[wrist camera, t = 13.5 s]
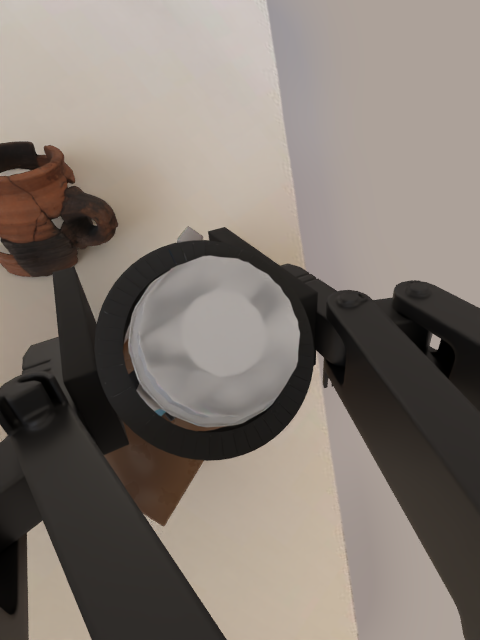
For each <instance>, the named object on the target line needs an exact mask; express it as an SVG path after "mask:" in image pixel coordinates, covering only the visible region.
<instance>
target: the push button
mask: <svg viewBox="0 0 480 640" xmlns="http://www.w3.org/2000/svg"><path fill="white" fill-rule="evenodd" d="M130 323H131V325H130ZM129 325H130V333H129V341H128V347H129V354H130V357H131V360H132V363H133V366H134V369H135V370H133V371H132V372H131V373H129V374H128V371H127V368H126V365H125V360H124V355H123V345H124V340H125V336H126V333H127V330H128V327H129ZM95 360H96V367H97V371H98V376H99V379H100V382H101V385H102V388H103V390H104V392H105V394H106V396H107V398H108V400H109V402H110V404H111V405H112V407H113V409H114V410H115V412H116V413H117V414H118V416H119V417H120V418H121V419H122V421H123V422H124V423H125V424H126V425H127V426H128V427H129V428H130V429H131V430H132V431H133V432H134V433H135V434H137V435H138V436H139V437H141V438H142V439H143V440H145V441H146V442H148V443H149V444H151V445H153V446H154V447H156V448H158V449H160V450H163V451H165V452H167V453H170V454H173V455H176V456H179V457H183V458H188V459H193V460H206V461H208V460H222V459H229V458H233V457H237V456H241V455H244V454H246V453H249V452H251V451H254V450H256V449H258V448H259V447H261V446H263V445H265V444H266V443H268V442H269V441H270V440H272V439H273V438H275V437H276V436H277V435H278V434H279V433H280V432H281V431H282V430H284V428H285V427H286V426H287V425H288V424H289V423H290V422H291V420H292V419H293V418H294V416H295V415H296V413H297V412H298V410H299V408H300V407H301V405H302V403H303V401H304V399H305V396H306V394H307V392H308V388H309V385H310V382H311V377H312V372H313V364H314V345H313V337H312V331H311V327H310V323H309V320H308V317H307V314H306V312H305V309H304V307H303V305H302V303H301V301H300V299H299V298H298V296H297V294H296V293H295V291H294V290H293V288H292V287H291V286H290V284H289V283H288V282H287V281H286V280H285V278H284V277H283V276H282V275H281V274H280V273H279V272H278V271H277V270H276V269H274V268H273V267H272V266H271V265H270V264H268V263H267V262H266V261H264V260H263V259H261V258H260V257H258V256H256V255H255V254H253V253H251V252H249V251H247V250H245V249H242V248H239V247H237V246H234V245H230V244H227V243H222V242H217V241H207V240H192V241H183V242H178V243H174V244H170V245H167V246H164V247H161V248H159V249H157V250H154V251H152V252H150V253H149V254H147V255H145V256H143V257H142V258H140V259H139V260H138V261H136V262H135V263H134V264H132V265H131V266H130V267H129V268H128V269H127V270H126V271H125V272H124V273H123V274H122V275H121V276H120V277H119V279H118V280H117V281H116V282H115V284H114V285H113V287H112V288H111V290H110V291H109V293H108V295H107V297H106V299H105V301H104V303H103V305H102V308H101V311H100V313H99V317H98V321H97V325H96V332H95ZM163 414H164V415H165V416H166V417H167V418H168V420H169V421H173V420H174V419H175V418H176V417H177V418H179V419H182V420H184V421H187V422H189V423H192V424H194V425H197V426H202V427H219V426H225V427H222V428H218V429H215V430H208V431H193V430H189V429H185V428H183V427H180V426H177V425H175V424H173V423H171V422H169V421H167V420H166V419H164V418H163V417H161V416H162V415H163Z"/></svg>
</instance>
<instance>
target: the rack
mask: <svg viewBox="0 0 480 640" xmlns="http://www.w3.org/2000/svg"><path fill="white" fill-rule="evenodd" d="M192 240H203V236H202V235H200V234H199V233H198V232H196V231H195V230H193V229H192V228H190V227H189V226H188V227H187V228H186V229H185V230H184V231H183V233H182V234H181V235H180V236H179V238H178V240H177V243H178V242H183V241H192ZM130 325H131V323H130ZM130 325H129V327H128V330H127V333H126V336H125V340H124V345H123V355H124V360H125V365H126V368H127V371H128V374H129V373H131V372H132V371H133V370H135V369H134V366H133V363H132V360H131V357H130V354H129V347H128V341H129V333H130ZM161 417H163V418H164V419H166V420H167V421H169V420H168V418H167V417H166V416H165V415H164V414H163V415H162V416H161ZM169 422H171V423H173V424H175V425H177V426H180V427H183V428H185V429H189V430H193V431H208V430H215V429H218V428H222V427H224V426H219V427H202V426H197V425H194V424H192V423H189V422H187V421H184V420H182V419H179V418H177V417H176V418H175V419H174V420H173V421H169ZM123 423H124V422H123ZM124 426H125V430H126V434H127V437H128V441H129V445H127V446H124V447H122V448H120V449H117V450H115V451H113V452H110V453H108V454H106V455H104V456H105V458H106V459H107V461H108V462H109V464H110V465H111V467H112V468H113V470H114V471H115V473H116V474H117V476H118V477H119V479H120V480H121V482H122V483H123V485H124V486H125V488H126V489H127V491H128V492H129V494H130V495H131V497H132V498H133V500H134V501H135V503H136V504H137V506H138V507H139V509H140V510H141V512H142V513H143V514H145V515H146V516H148V517H149V518H151V519H152V520H154V521H156V522H157V523H159V524H160V525H162V526H165V524H166V523H167V521H168V519H169V518H170V516H171V514H172V513H173V511H174V509H175V508H176V506H177V504H178V503H179V501H180V499H181V498H182V496H183V494H184V493H185V491H186V489H187V488H188V486H189V484H190V483H191V481H192V479H193V478H194V476H195V474H196V473H197V471H198V470H199V468H200V466H201V465H202V463H203V461H204V460H193V459H188V458H183V457H179V456H176V455H173V454H170V453H167V452H165V451H163V450H160V449H158V448H156V447H154V446H153V445H151V444H149V443H148V442H146V441H145V440H143V439H142V438H141V437H139V436H138V435H137V434H135V433H134V432H133V431H132V430H131V429H130V428H129V427H128V426H127V425H126V424H125V423H124Z"/></svg>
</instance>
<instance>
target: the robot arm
mask: <svg viewBox="0 0 480 640" xmlns="http://www.w3.org/2000/svg"><path fill="white" fill-rule="evenodd" d="M208 234H209V241H217V242H222V243H227V244H230V245H234V246H237V247H239V248H242V249H245V250H247V251H249V252H251V253H253V254H255V255H256V256H258V257H260V258H261V259H263V260H264V261H266V262H267V263H268V264H270V265H271V266H272V267H273V268H274V269H276V270H277V271H278V272H279V273H280V274H281V275H282V276H283V277H284V278H285V280H286V281H287V282H288V283H289V284H290V286H291V287H292V288H293V290H294V291H295V293H296V294H297V296H298V298H299V299H300V301H301V303H302V305H303V307H304V309H305V312H306V314H307V317H308V320H309V323H310V327H311V331H312V337H313V345H314V364H313V366H314V365H316V350H317V351H318V352H319V353H320V354H321V355H322V356H323V357H324V368H323V386H324V388H326V387H327V384H328V383H327V382H328V378H329V379H330V381H331V383H332V386H334V388H335V390H336V391H337V393H338V395H339V397H340V399H341V400H342V402H343V404H344V406H345V407H346V409H347V411H348V413H349V415H350V416H351V418H352V420H353V421H354V423H355V425H356V427H357V429H358V431H359V432H360V434H361V436H362V438H363V439H364V441H365V443H366V445H367V447H368V448H369V450H370V452H371V454H372V456H373V457H374V459H375V461H376V463H377V465H378V466H379V468H380V470H381V471H382V474H383V475H384V477H385V479H386V481H387V482H388V484H389V486H390V488H391V490H392V491H393V493H394V495H395V497H396V498H397V500H398V502H399V504H400V506H401V507H402V509H403V511H404V513H405V515H406V516H407V518H408V520H409V522H410V523H411V525H412V527H413V529H414V530H415V532H416V534H417V536H418V538H419V539H420V541H421V543H422V545H423V547H424V548H425V550H426V552H427V554H428V556H429V557H430V559H431V561H432V562H433V564H434V566H435V568H436V570H437V572H438V573H439V575H440V577H441V579H442V581H443V582H444V584H445V586H446V587H447V589H448V591H449V593H450V595H451V597H452V598H453V600H454V602H455V604H456V606H457V609H458V611H459V614H460V618H461V624H462V629H463V635H464V638H465V640H480V308H478V307H476V306H474V305H472V304H470V303H468V302H466V301H464V300H462V299H460V298H458V297H457V296H454V295H452V294H450V293H449V292H447V291H444V290H443V289H441V288H439V287H437V286H435V285H432V284H429V283H427V282H421V281H407V282H401V283H400V284H398V285H396V287H395V289H394V293H393V298H387V299H379V300H372V299H371V298H370V297H369V296H367V295H366V294H364V293H361V292H358V291H352V290H343V291H336V290H335V289H333V288H332V287H330V286H328V285H327V284H325V283H324V282H322V281H321V280H319V279H316V277H315V276H313V275H312V274H309V272H307V271H305V270H304V269H302V268H301V267H298V266H295V265H291V264H285V265H282V266H280V265H278V264H277V263H275V262H274V261H272V260H271V259H270V258H268V257H267V256H265V255H264V254H262V253H261V252H260V251H258V250H257V249H255V248H254V247H252V246H251V245H250V244H248V243H247V242H245V241H244V240H242V239H241V238H240V237H238V236H237V235H235V234H234V233H232V232H231V231H230V230H228V229H227V228H225V227H223V228H219V229H216V230H212V231H208ZM52 273H53V283H54V294H55V304H56V314H57V324H58V335H59V337H57V338H54V339H50V340H47V341H44V342H41V343H38V344H35V345H31V346H30V348H29V349H28V351H27V352H26V354H25V355H24V357H23V365H22V369H23V371H22V375H20V376H17V377H15V378H14V379H12V380H10V381H9V382H7V383H5V384H4V385H3V386H2V387H1V388H0V425H1V426H2V427H3V429H4V430H5V432H6V433H7V434H8V436H7V437H6V438H5V439H4V440H3V441H2V442H0V640H29V638H28V582H27V532H28V531H29V530H31V529H32V528H33V527H35V526H36V525H37V524H39V523H40V522H41V521H42V520H43V522H44V524H45V527H46V529H47V531H48V534H49V536H50V539H51V541H52V544H53V546H54V549H55V551H56V553H57V556H58V558H59V561H60V563H61V566H62V568H63V571H64V573H65V575H66V578H67V580H68V583H69V585H70V588H71V590H72V593H73V595H74V597H75V600H76V602H77V605H78V607H79V610H80V612H81V614H82V617H83V619H84V622H85V624H86V627H87V629H88V632H89V634H90V636H91V639H92V640H227V639H226V638H225V636H224V635H223V633H222V632H221V630H220V629H219V627H218V626H217V624H216V623H215V621H214V620H213V618H212V617H211V615H210V614H209V612H208V611H207V609H206V608H205V606H204V605H203V603H202V602H201V600H200V599H199V597H198V596H197V594H196V593H195V591H194V590H193V588H192V587H191V585H190V584H189V582H188V581H187V579H186V578H185V576H184V575H183V573H182V572H181V570H180V569H179V567H178V566H177V564H176V563H175V561H174V560H173V558H172V557H171V555H170V554H169V552H168V551H167V549H166V548H165V546H164V545H163V543H162V542H161V540H160V539H159V537H158V536H157V534H156V533H155V531H154V530H153V528H152V527H151V525H150V524H149V522H148V521H147V519H146V518H145V516H144V515H143V513H142V512H141V510H140V509H139V507H138V506H137V504H136V503H135V501H134V500H133V498H132V497H131V495H130V494H129V492H128V491H127V489H126V488H125V486H124V485H123V483H122V482H121V480H120V479H119V477H118V476H117V474H116V473H115V471H114V470H113V468H112V467H111V465H110V464H109V462H108V461H107V459H106V458H105V456H104V455H106V454H108V453H110V452H113V451H115V450H117V449H120V448H122V447H124V446H127V445H129V441H128V437H127V434H126V430H125V426H124V423H123V421H122V419H121V418H120V417H119V416H118V414H117V413H116V412H115V410H114V409H113V407H112V405H111V404H110V402H109V400H108V398H107V396H106V394H105V392H104V390H103V388H102V385H101V382H100V379H99V376H98V371H97V367H96V360H95V332H96V325H97V324H96V321H95V319H94V316H93V313H92V311H91V308H90V306H89V303H88V301H87V298H86V296H85V293H84V290H83V288H82V285H81V283H80V280H79V278H78V275H77V273H76V270H75V268H74V267H70V268H67V269H63V270H59V271H55V272H52ZM432 333H433V334H434V335H436V336H438V337H439V338H441V341H440V345H439V349H438V350H435V349H433V348H432V347H430V346H429V345H430V341H431V337H432Z"/></svg>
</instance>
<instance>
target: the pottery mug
mask: <svg viewBox="0 0 480 640" xmlns="http://www.w3.org/2000/svg"><path fill="white" fill-rule="evenodd" d="M44 151H45V154H46V155H37V154H36V152H35V148H34V145H33V143H32V142H8V143H1V144H0V173H1V172H4V171H7V170H11V169H17V168H19V169H29V170H31V171H28V172H24V173H21V174H15V175H11V176H0V238H1V242H2V243H3V245H4V246H5V247H6V248H7V249H8V250H9V252H10V253H11V254H6V253H2V252H0V263H1V264H2V265H3V266H4V267H5V268H6V269H7V271H8V272H10V273H12V274H15V275H19V276H28V277H30V276H32V277H39V276H49V275H52V274H53V273H52V272H55V271H59V270H63V269H67V268H70V267H72V266H74V265H75V264H76V263H77V262H78V258H77V254H78V252H77V250H78V248H80V249H85V248H86V247H88V246H97V245H100V244H103V243H106V242H108V241H109V240H110V239H111V238H112V237H113V236H114V234H115V230H116V227H118V222H117V220H116V216H115V214H114V212H113V209H112V208H111V207H110V206H109V205H108V204H107V203H106V202H105V201H104V200H102V199H100V198H98V197H95V196H92V195H89V194H86V193H84V192H83V191H82V190H81V189H80V188H79V187H76V186H71V187H69V188H68V187H67V183H68V182H69V183H71V184H73V183H75V177H74V174H73V171H72V170H71V168H70V167H69V166H68V165H67V164H66V163H65V162H64V155H63V153H62V151H60V150H59V149H58V148H56V147H54V146H51V145H48V146H44ZM60 216H61V218H62V219H63V221H64V222H63V224H62V227H61V229H58V228H57V227H56V226H55V225H54V223H53V222H52V221H51V220H52V219H55V218H58V217H60ZM92 219H93V220H94V221H95V222H96V224H97V226H95V225H93V222H92Z"/></svg>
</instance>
